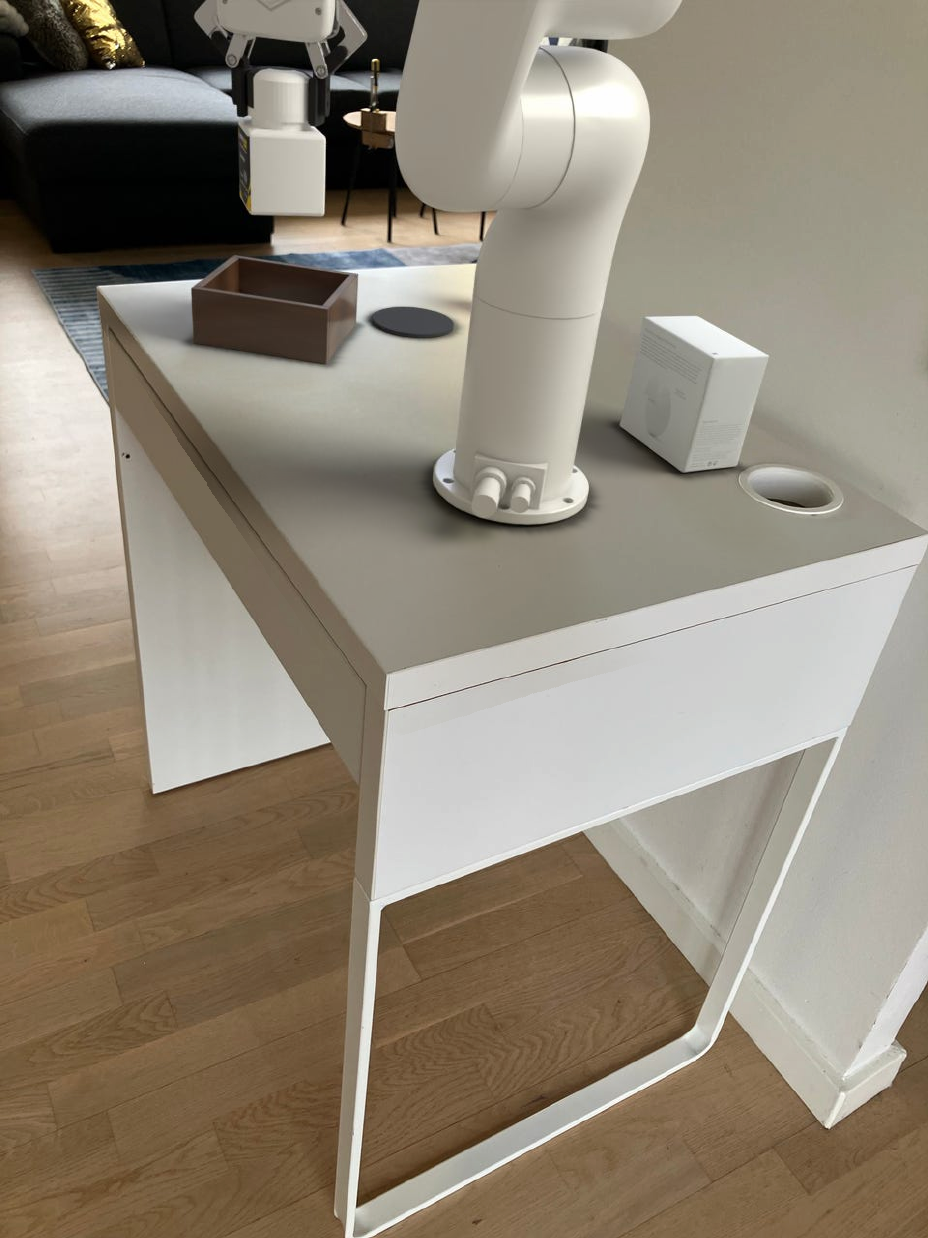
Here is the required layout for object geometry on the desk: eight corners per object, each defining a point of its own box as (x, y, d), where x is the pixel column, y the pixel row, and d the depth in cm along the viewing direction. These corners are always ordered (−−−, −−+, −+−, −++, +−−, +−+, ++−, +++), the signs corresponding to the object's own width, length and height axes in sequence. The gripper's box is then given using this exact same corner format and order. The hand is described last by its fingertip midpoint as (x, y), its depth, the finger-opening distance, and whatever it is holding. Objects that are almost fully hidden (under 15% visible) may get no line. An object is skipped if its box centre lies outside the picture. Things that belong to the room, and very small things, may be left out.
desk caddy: (326, 364, 101) (327, 309, 98) (193, 343, 102) (190, 287, 99) (356, 324, 112) (358, 273, 109) (235, 305, 113) (234, 254, 110)
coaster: (446, 342, 110) (446, 339, 110) (364, 329, 111) (364, 326, 110) (459, 317, 118) (459, 313, 117) (382, 305, 118) (382, 301, 118)
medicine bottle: (239, 197, 101) (235, 60, 95) (311, 199, 103) (312, 65, 97) (249, 215, 96) (246, 70, 89) (325, 217, 98) (327, 76, 91)
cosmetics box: (740, 467, 92) (773, 353, 86) (682, 475, 89) (711, 358, 83) (673, 419, 99) (698, 311, 93) (617, 425, 97) (640, 315, 91)
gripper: (162, -132, 83) (176, 113, 93) (371, -109, 82) (362, 137, 92) (196, -126, 89) (205, 103, 99) (391, -105, 88) (380, 125, 98)
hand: (281, 117), depth 95 cm, fingers closed on medicine bottle, 6 cm apart
